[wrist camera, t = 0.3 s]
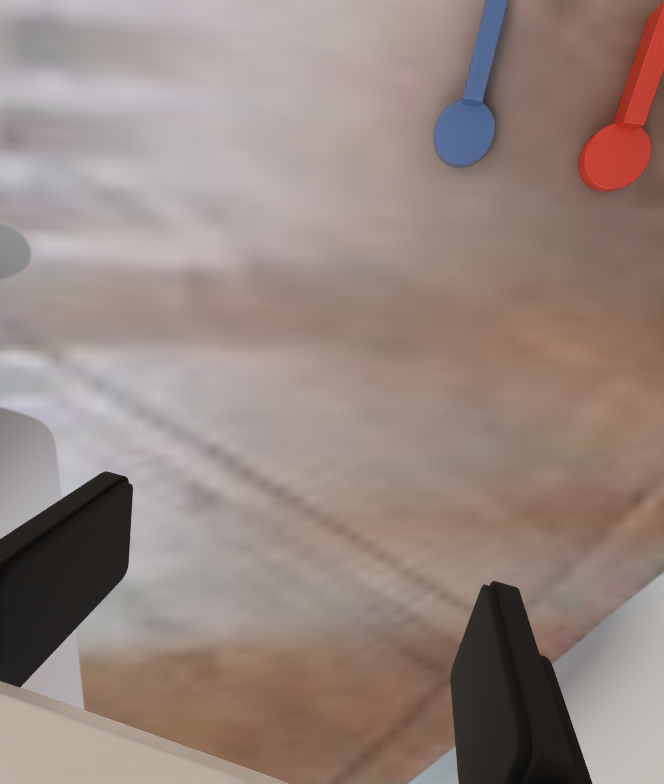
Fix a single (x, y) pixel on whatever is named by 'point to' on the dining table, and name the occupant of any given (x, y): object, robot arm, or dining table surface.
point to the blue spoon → (472, 100)
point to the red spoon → (628, 119)
